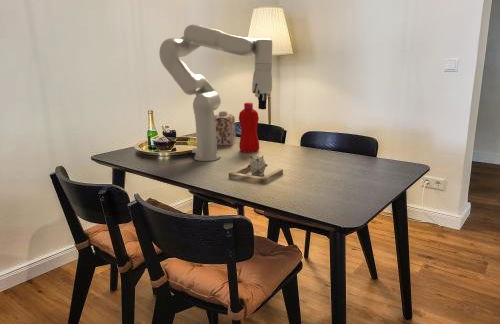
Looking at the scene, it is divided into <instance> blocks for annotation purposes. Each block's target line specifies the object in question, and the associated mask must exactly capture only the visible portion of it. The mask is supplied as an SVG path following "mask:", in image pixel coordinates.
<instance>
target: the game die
mask: <svg viewBox="0 0 500 324" xmlns="http://www.w3.org/2000/svg"><path fill="white" fill-rule="evenodd" d="M248 164H249V165H248ZM248 164H247V165H248V166H247V167H249V168H250V172H251V175H252V176H256V175H262V176H263V177H264V176H265V174H264V173H265V170H266V168H267V167H268V164H266V162H265V159H264V155H262V157H261V156H260V157H257V156H256V157H253V156H252V155H250V161H249V163H248Z"/></svg>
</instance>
